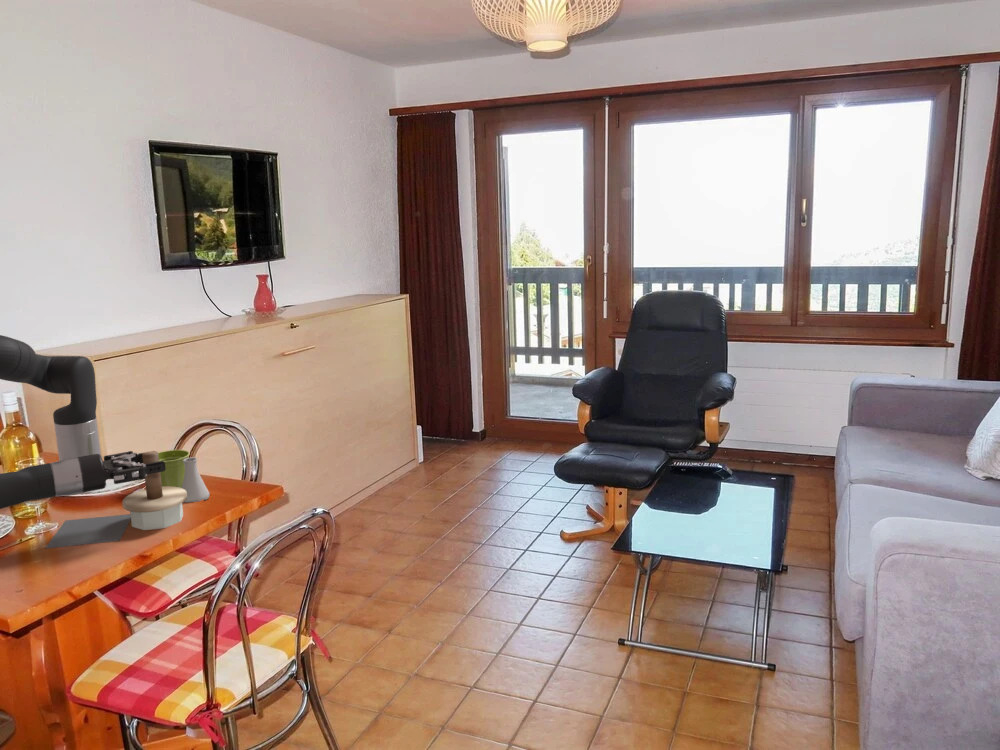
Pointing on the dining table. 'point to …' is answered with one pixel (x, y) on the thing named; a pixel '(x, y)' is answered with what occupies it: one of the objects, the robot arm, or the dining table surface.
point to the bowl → (157, 518)
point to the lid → (154, 492)
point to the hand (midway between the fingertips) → (160, 460)
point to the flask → (193, 482)
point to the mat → (90, 531)
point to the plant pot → (173, 467)
